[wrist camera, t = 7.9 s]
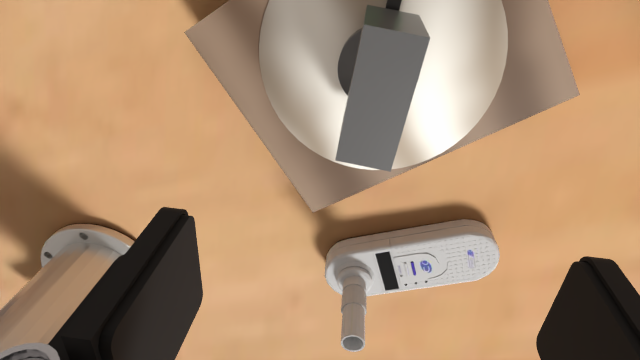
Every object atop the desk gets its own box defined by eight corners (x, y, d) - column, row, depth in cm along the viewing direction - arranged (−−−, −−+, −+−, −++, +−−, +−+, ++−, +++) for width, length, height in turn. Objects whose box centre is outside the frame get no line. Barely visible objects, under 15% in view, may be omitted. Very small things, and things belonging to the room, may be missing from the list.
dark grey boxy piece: (402, 122, 28) (408, 175, 22) (329, 107, 28) (316, 156, 22) (453, -52, 23) (481, -47, 17) (363, -70, 23) (358, -71, 17)
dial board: (317, 192, 36) (312, 214, 33) (200, 23, 30) (183, 32, 27) (561, 80, 29) (580, 95, 26) (474, -170, 23) (487, -184, 20)
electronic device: (532, 348, 30) (327, 370, 33) (494, 258, 38) (335, 282, 41) (528, 293, 27) (308, 323, 30) (488, 210, 36) (320, 239, 39)
